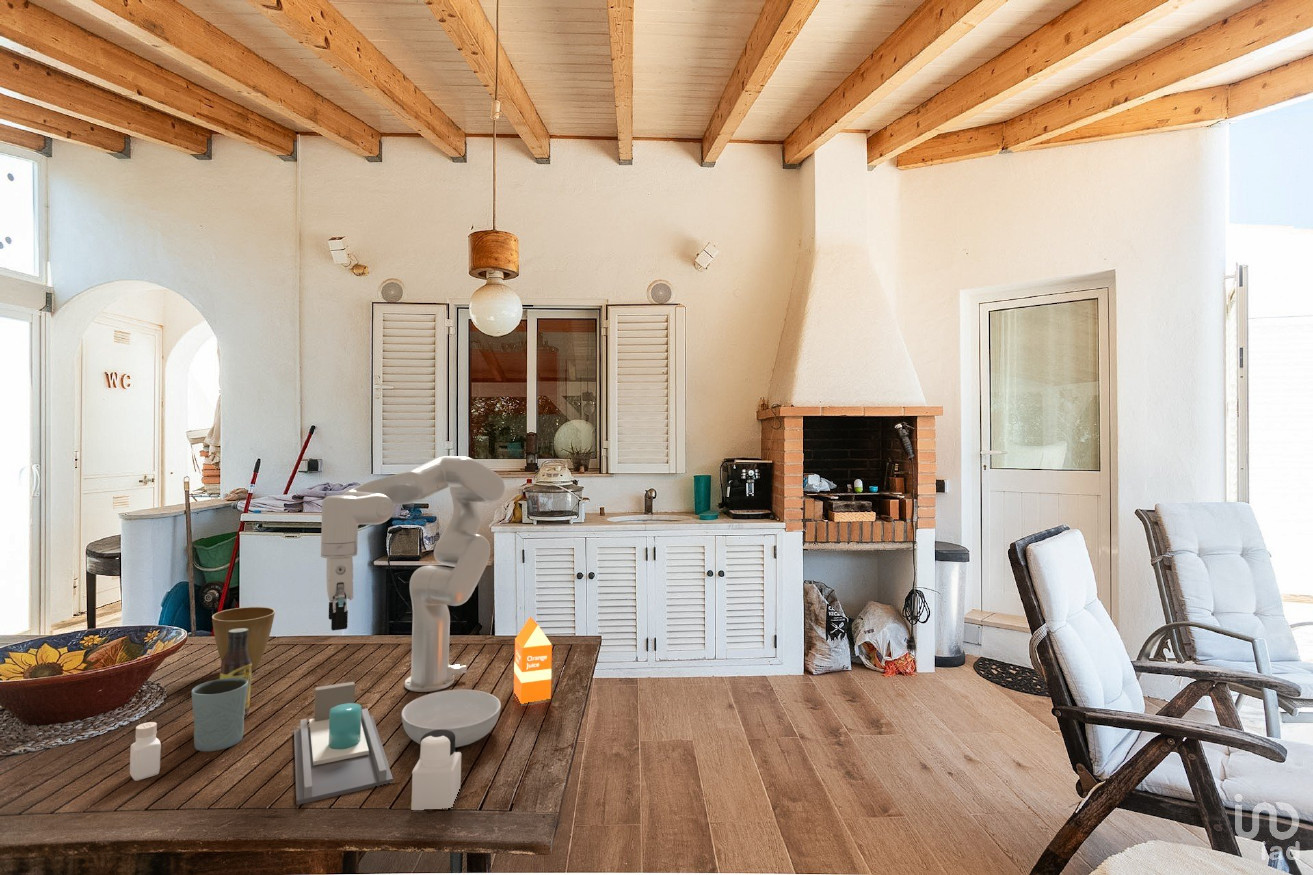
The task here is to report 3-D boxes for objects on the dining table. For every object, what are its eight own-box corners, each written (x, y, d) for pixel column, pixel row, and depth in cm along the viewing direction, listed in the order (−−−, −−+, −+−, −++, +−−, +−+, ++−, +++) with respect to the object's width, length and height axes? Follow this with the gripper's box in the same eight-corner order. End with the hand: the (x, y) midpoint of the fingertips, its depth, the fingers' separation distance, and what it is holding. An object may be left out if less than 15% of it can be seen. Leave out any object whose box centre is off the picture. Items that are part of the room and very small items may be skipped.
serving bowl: (406, 770, 126) (407, 735, 127) (396, 727, 145) (396, 697, 145) (510, 749, 136) (511, 716, 136) (488, 711, 155) (489, 683, 155)
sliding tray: (357, 714, 149) (358, 680, 149) (368, 754, 130) (369, 715, 130) (309, 722, 144) (310, 688, 144) (313, 765, 125) (314, 725, 125)
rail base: (372, 719, 149) (373, 707, 149) (392, 782, 121) (393, 767, 121) (294, 733, 141) (294, 720, 141) (296, 804, 113) (296, 789, 113)
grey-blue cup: (202, 757, 129) (204, 698, 130) (180, 744, 135) (182, 687, 135) (255, 738, 138) (257, 683, 138) (232, 727, 143) (234, 673, 144)
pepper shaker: (154, 767, 125) (156, 719, 125) (160, 774, 123) (162, 724, 123) (128, 775, 122) (130, 725, 122) (134, 782, 119) (135, 731, 120)
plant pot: (199, 681, 170) (201, 621, 170) (223, 662, 184) (225, 607, 185) (262, 677, 173) (264, 618, 174) (280, 659, 188) (282, 605, 188)
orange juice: (520, 707, 158) (522, 626, 158) (513, 694, 166) (515, 617, 166) (551, 702, 161) (553, 623, 161) (542, 690, 169) (544, 614, 169)
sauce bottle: (233, 722, 146) (236, 635, 146) (210, 719, 147) (213, 633, 147) (256, 711, 152) (259, 627, 152) (234, 708, 153) (237, 625, 154)
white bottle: (421, 790, 119) (423, 725, 119) (460, 789, 120) (462, 725, 120) (410, 812, 112) (412, 743, 112) (451, 811, 113) (453, 742, 113)
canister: (358, 733, 138) (359, 701, 138) (361, 745, 132) (362, 711, 132) (327, 739, 134) (328, 706, 135) (329, 751, 129) (330, 716, 129)
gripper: (361, 554, 141) (359, 631, 141) (353, 542, 156) (352, 612, 156) (322, 556, 137) (321, 636, 137) (319, 544, 152) (317, 616, 152)
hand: (337, 623), depth 146 cm, fingers open, 9 cm apart
